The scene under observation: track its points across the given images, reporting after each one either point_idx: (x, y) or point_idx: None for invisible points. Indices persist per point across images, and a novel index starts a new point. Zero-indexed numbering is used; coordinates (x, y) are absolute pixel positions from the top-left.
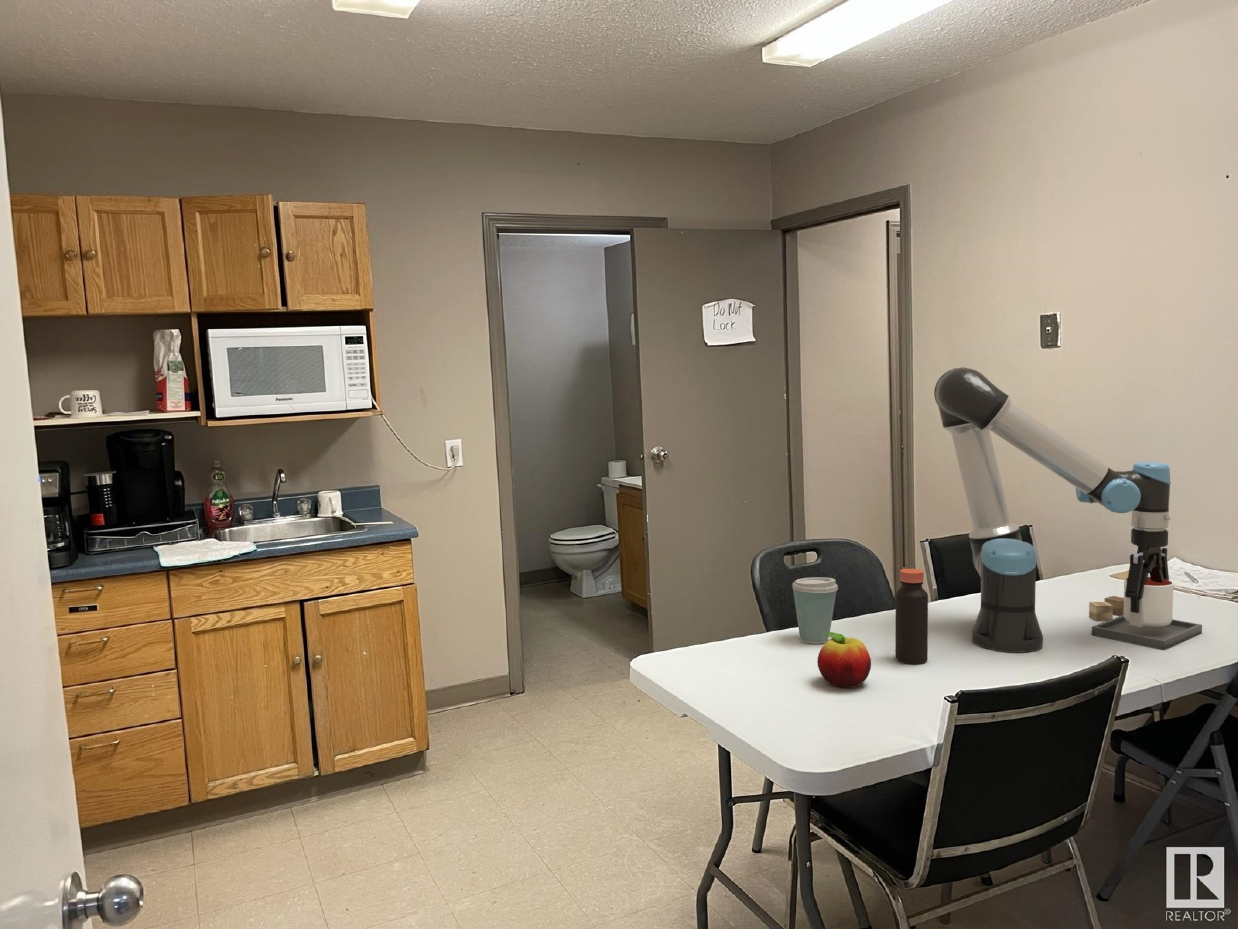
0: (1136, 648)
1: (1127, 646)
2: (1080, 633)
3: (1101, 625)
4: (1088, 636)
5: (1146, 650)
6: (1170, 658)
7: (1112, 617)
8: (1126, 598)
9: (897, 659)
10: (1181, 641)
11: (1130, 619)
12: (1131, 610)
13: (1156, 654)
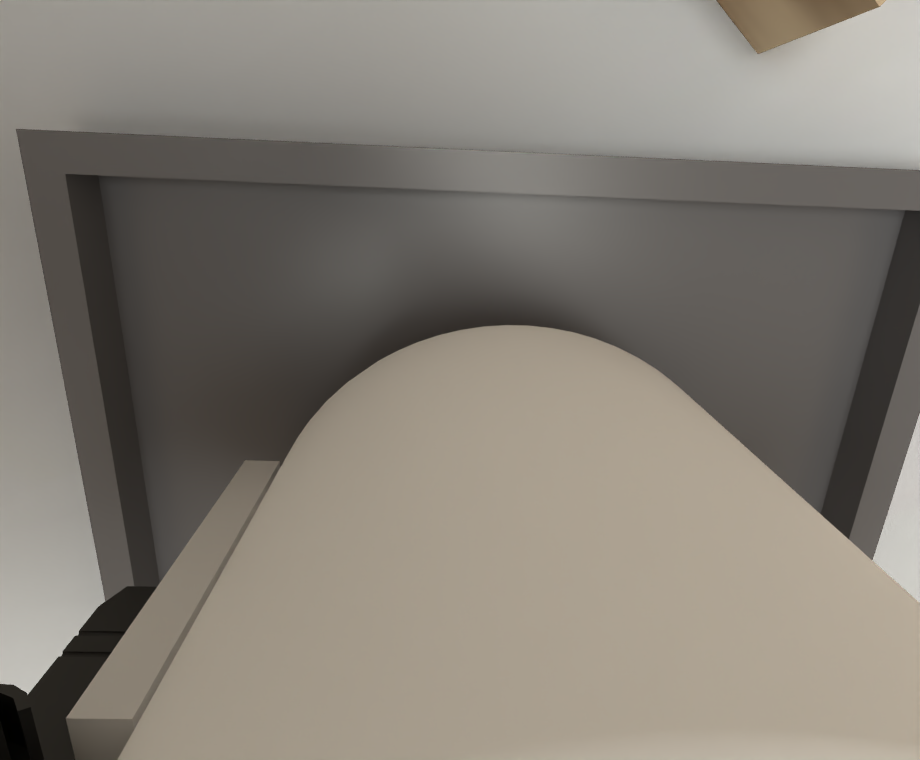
0: (41, 555)
1: (30, 496)
2: (35, 15)
3: (182, 177)
4: (8, 134)
5: (57, 614)
6: None
7: (780, 43)
8: (240, 555)
9: None
10: None
11: (227, 498)
12: (104, 612)
13: (28, 682)
